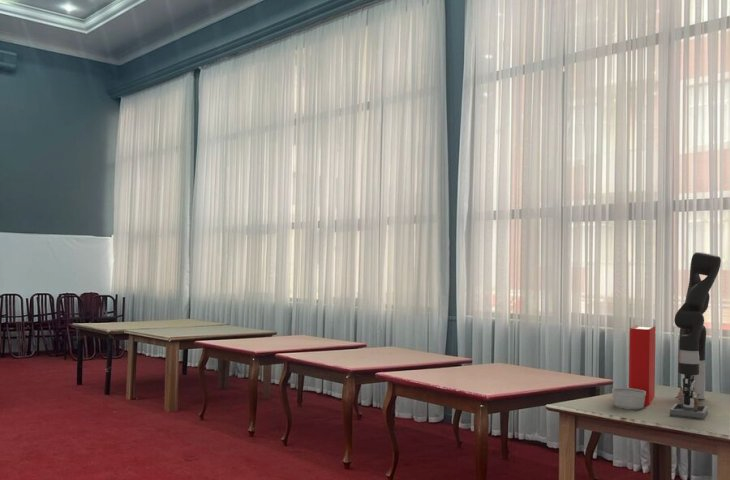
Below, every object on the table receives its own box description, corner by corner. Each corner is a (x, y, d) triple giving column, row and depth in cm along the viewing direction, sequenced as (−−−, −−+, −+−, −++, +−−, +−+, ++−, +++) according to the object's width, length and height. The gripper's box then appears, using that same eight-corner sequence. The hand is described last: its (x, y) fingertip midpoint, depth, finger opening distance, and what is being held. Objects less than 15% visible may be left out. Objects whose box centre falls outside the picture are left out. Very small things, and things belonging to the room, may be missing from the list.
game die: (691, 415, 301) (703, 398, 295) (671, 406, 303) (682, 390, 297) (691, 401, 308) (702, 385, 303) (672, 393, 310) (682, 377, 304)
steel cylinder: (683, 412, 282) (683, 397, 283) (694, 413, 280) (694, 398, 281) (682, 414, 279) (682, 398, 279) (693, 415, 277) (693, 399, 277)
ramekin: (633, 411, 285) (633, 394, 286) (605, 405, 296) (605, 389, 296) (652, 408, 293) (652, 391, 293) (624, 403, 304) (624, 386, 304)
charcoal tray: (675, 408, 294) (676, 402, 294) (708, 412, 288) (708, 406, 288) (669, 415, 278) (669, 409, 278) (703, 419, 272) (703, 413, 272)
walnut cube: (684, 409, 289) (684, 396, 290) (697, 411, 287) (698, 398, 288) (682, 409, 285) (683, 396, 286) (696, 410, 283) (696, 398, 283)
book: (635, 395, 326) (636, 324, 327) (654, 397, 322) (655, 326, 323) (628, 404, 301) (629, 328, 303) (648, 406, 298) (649, 329, 299)
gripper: (697, 364, 273) (696, 407, 272) (701, 361, 285) (700, 402, 284) (676, 362, 276) (675, 404, 276) (680, 359, 289) (680, 399, 288)
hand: (688, 403), depth 280 cm, fingers open, 8 cm apart
